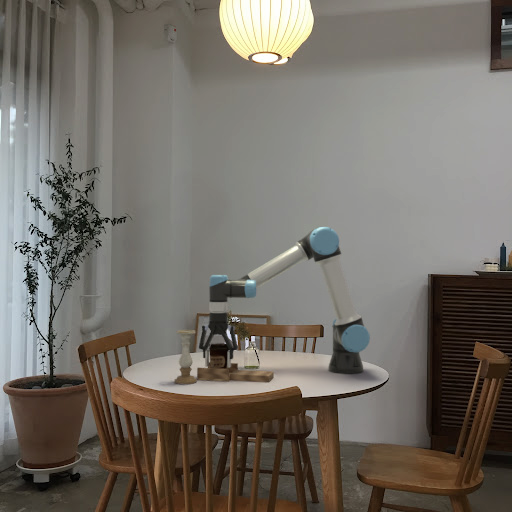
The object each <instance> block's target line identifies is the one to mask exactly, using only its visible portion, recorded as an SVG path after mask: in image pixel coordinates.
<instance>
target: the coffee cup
mask: <svg viewBox="0 0 512 512" xmlns="http://www.w3.org/2000/svg"><path fill="white" fill-rule="evenodd" d="M208 350H209V362H210V367H211V368H218V369H226V368H227V364H228V351H229V349H228V347H227V344H226V342H225V343H222V342H220V343H218V342H217V343H210V345H209V346H208Z"/></svg>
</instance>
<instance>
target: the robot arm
mask: <svg viewBox="0 0 512 512" xmlns="http://www.w3.org/2000/svg"><path fill="white" fill-rule="evenodd" d="M341 251H342V250H341V248H340V239H339V235H338V233H337V232H336V230H334V229H333V228H331V227H328V226H320V227H317V228H315V229H313V230H311V231H310V232H308V233H307V234H306V235H304V237H302V238H301V239H299V240H298V241H296V242H295V245H294V246H292V247H290V248H289V249H287V250H285V251H284V252H282V253H281V254H278V255H277V256H275V257H273V258H272V259H270V260H269V261H267V262H266V263H264V264H262V265H260V266H259V267H257V268H255V269H254V270H252V271H250V272H248V273H247V274H245V275H243V276H242V277H241V278H238V279H229V277H228V275H227V274H212V275H211V276H210V277H209V292H208V293H209V303H208V304H209V309H208V310H209V312H210V313H209V317H208V318H209V319H208V320H209V321H208V324H203V325H202V326H201V331H202V332H201V334H200V340H199V345H198V349H199V350H201V351H202V356H203V357H202V358H203V359H205V364H204V366H205V367H204V368H208V366H209V362H210V352H209V347H210V345H211V342H212V340H213V338H214V336H216V335H218V336H221V337H222V338H223V340H224V342H225V344H227V347H228V349H229V351H228V364H227V368H230V367H231V363H232V360H233V359H234V352H235V351H237V350H238V349H239V347H238V346H239V345H238V342H237V337H236V332H235V331H236V326H235V325H229V322H228V313H227V312H228V299H232V298H236V299H238V298H239V299H253V298H254V299H255V298H256V297H257V290H258V288H260V287H261V286H263V285H265V284H267V283H269V282H270V281H272V280H273V279H275V278H277V277H278V276H280V275H281V274H283V273H285V272H286V271H288V270H291V269H292V268H293V267H296V266H297V265H298V264H300V263H302V262H303V261H307V262H308V261H310V260H311V259H313V260H314V262H315V264H317V265H319V267H320V268H319V269H320V270H321V273H322V277H323V280H324V284H325V286H326V290H327V293H328V295H329V296H328V297H329V298H330V299H329V300H330V302H331V305H332V308H333V312H334V315H335V317H336V318H334V319H333V320H332V354H331V357H330V360H329V363H328V371H329V372H332V373H338V374H359V373H363V372H364V364H363V362H362V358H361V355H360V352H363V351H364V350H365V349H366V348H367V347H368V345H369V344H370V339H371V337H370V336H371V335H370V332H369V330H368V329H367V328H366V327H365V323H364V321H363V317H362V316H361V315H360V314H358V313H357V311H356V307H355V305H354V301H353V298H352V295H351V291H350V288H349V285H348V283H347V280H346V277H345V276H346V275H345V273H344V271H343V267H342V263H341V261H340V258H341V256H342V252H341ZM208 330H209V331H210V332H209V335H208V337H207V336H206V335H207V332H208ZM227 330H228V331H229V333H230V334H229V335H230V338H229V336H228V333H227ZM206 337H207V339H206ZM230 339H231V340H230ZM205 340H206V341H205Z"/></svg>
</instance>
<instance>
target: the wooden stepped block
mask: <svg viewBox="0 0 512 512" xmlns="http://www.w3.org/2000/svg"><path fill="white" fill-rule="evenodd" d="M238 365H239V363H235V362H231V367H230V368H226V369H218V368H211V367H210V361H209V366H207V367H197V370H196V373H197V374H196V379H197V381H211V382H230V381H235V382H237V381H238V382H257V383H261V382H262V383H270V381H272V380H273V379H274V375H275V371H267V370H246V369H245V370H244V369H238V368H239V366H238Z"/></svg>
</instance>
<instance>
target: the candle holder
mask: <svg viewBox="0 0 512 512" xmlns="http://www.w3.org/2000/svg"><path fill="white" fill-rule="evenodd" d="M196 332H197V331H196V330H193V329H179V330H176V332H175V333H176V335H180V338H181V343H180V345H181V346H182V348H181V349H182V351H181V355H180V357H179V360H178V364H179V366H180V368H179V371H180V375H178V376H177V377H176V378H175V379H174V383H175V384H179V385H191V384H195V383H197V381H198V380H197V378H195V376H194V375H191V371H192V370H193V369H192V368H191V367H192V365H193V362H194V361H193V357H192V356H191V354H190V353H191V351H190V345H191V342H190V339H191V337H192V335H194V334H196Z"/></svg>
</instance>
